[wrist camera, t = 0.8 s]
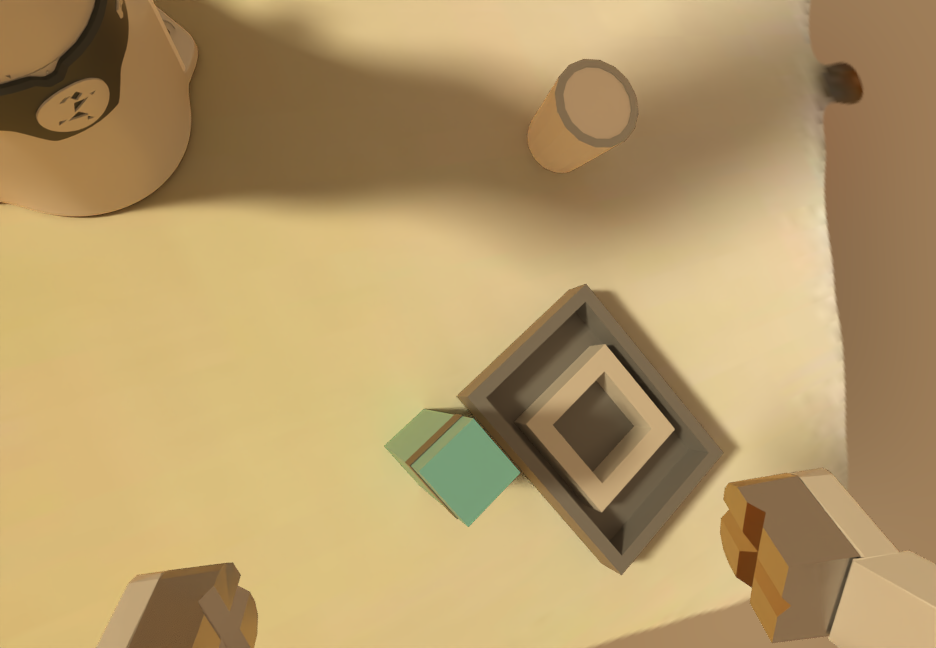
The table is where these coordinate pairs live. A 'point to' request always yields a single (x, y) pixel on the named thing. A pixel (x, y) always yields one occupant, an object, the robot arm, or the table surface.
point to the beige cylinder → (582, 116)
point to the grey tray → (593, 427)
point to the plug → (453, 462)
